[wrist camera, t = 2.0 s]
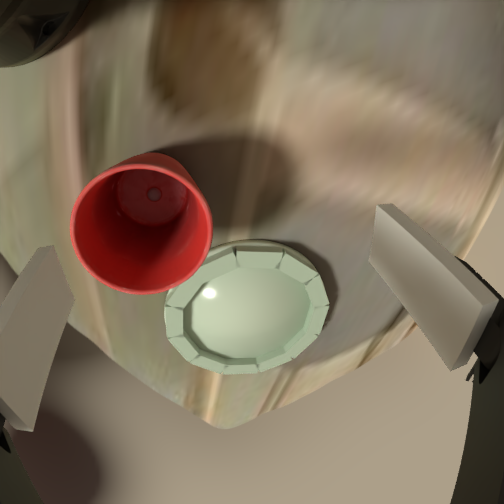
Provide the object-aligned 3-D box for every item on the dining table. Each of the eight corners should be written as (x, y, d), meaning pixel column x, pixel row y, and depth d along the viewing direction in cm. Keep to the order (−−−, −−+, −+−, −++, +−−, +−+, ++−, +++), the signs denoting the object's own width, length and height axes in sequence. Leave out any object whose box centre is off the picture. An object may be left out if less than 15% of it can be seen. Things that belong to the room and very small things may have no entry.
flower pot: (220, 222, 33) (230, 276, 25) (123, 250, 33) (104, 308, 25) (192, 123, 28) (191, 143, 20) (86, 159, 27) (46, 194, 19)
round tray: (168, 363, 43) (167, 375, 41) (162, 236, 33) (161, 246, 31) (303, 359, 47) (307, 370, 45) (340, 243, 37) (348, 252, 35)
